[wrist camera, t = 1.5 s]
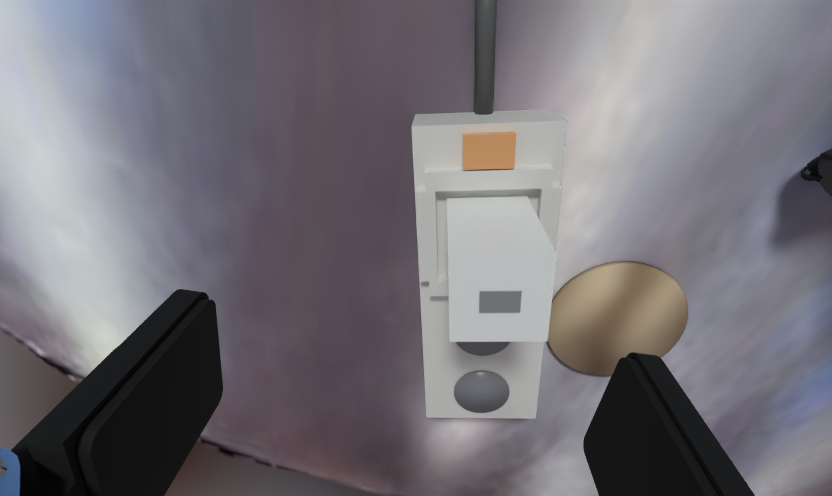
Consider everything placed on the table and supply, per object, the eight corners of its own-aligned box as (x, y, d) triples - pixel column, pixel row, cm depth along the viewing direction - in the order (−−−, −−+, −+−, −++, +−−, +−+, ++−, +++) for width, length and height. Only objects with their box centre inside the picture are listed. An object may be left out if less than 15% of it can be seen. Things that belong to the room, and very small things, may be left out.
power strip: (406, -68, 25) (399, -88, 20) (569, -79, 24) (596, -103, 20) (428, 382, 40) (426, 425, 36) (527, 383, 39) (537, 426, 35)
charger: (527, 195, 27) (557, 256, 20) (522, 265, 29) (547, 342, 22) (446, 197, 27) (447, 257, 20) (447, 266, 30) (449, 343, 22)
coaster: (699, 260, 33) (703, 263, 32) (668, 371, 38) (671, 375, 37) (551, 262, 33) (552, 265, 33) (539, 370, 38) (541, 375, 38)
